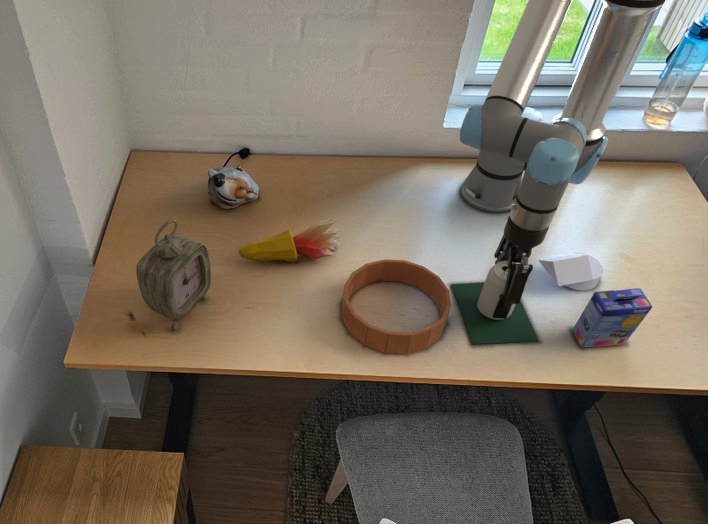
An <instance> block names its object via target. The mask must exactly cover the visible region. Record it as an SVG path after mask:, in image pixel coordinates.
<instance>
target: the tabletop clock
mask: <svg viewBox="0 0 708 524" xmlns="http://www.w3.org/2000/svg"><path fill="white" fill-rule="evenodd" d="M173 223H174V228H173V230H172V231H171V232H170V234H169V233H168V234H165V235H164V237H162V238H161V239H160V240H159V237H160V235H161V233H162V232H163V231H164V229H165V228H167V227H168V226H169V225H170V224H173ZM177 229H178V222H177V220H176V219H168V220H167V221H165V222H164V223H163V224H162V225H161V226H160V227H159V228H158V230H157V231H156V234H155V237H154V245H153V246H152V247H150V249H149V250H147V252H146V253H145V254H144V255H143V256H142V257H141V258H140V259H139V260H138V262H137V264H136V267H135V268H136V270H135V273H136V279H137V284H138V289H139V291H140V294H141V298H142V299H143V301H144V302H145V304H146V306H147V308H149V309H150V310H151V311H153V312H156V313H157V314H160V315H162V316H164V317H166V318H168V319H169V320H171V321H172V324H171V327H170V329H171V330H172V331H173V332H175V331H178V330H179V325H178V323H177V322H179V321H181V320H183V319H184V318H185V317H186V316H188V314H189V313H190V312H191V311H192V310H193V309H194V308H195V307H196V306H197V305H198V304H199V302H200V301H205V300H207V295H206V294H207V292H208V291H209V289H210V287H211V281H212V279H211V278H212V271H211V261H210V257H209V251H208V248H207V247H206V245H205V244H202V243H200V242H198V241H196V240H192V239H190V238H188V237H185V236H183V235H180V234H178V233H177ZM158 240H159V241H158Z"/></svg>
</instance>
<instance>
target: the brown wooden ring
mask: <svg viewBox="0 0 708 524" xmlns="http://www.w3.org/2000/svg"><path fill="white" fill-rule="evenodd" d="M381 281H386V282H387V281H389V282H401V283H404V284H407V285H411V286H413V287H417V288H418V289H420V290H421V291H422V292H423V293H425V294H426V295H428V296H429V297H431V299H432V300H433V302H434V303H435V304H436V306H437V307H438V308H439V312H440V313H439V314H440V319H438V320H437V321H436V322H434V323H433V324H431V325H430V326H429V327H426V328H423V329H419V330H415V331H411V332H403V331H389V330H386V329H383V328H380V327H377V326H375V325H372V324H370V323H368V322H367V321H366V320H364V319H363V318H362V317H361V316H359V314H357V313H356V312H355V310H354V308H353V307H352V305H351V303H350V301H349V300H350V298H351V296H352V295H353V293H355V292H356V291H358V290H359V289H361V288H362V287H364V286H365V285H369V284H373V283H377V282H381ZM342 292H343V294H342V300H341V301H342V302H341V319H342V322H343V323H344V325H345V327H346V328H347V330H348V333H349V334H350V336H352V337H353V338H355V339H356V340H358V341H359V342H360V343H362V345H363V346H366V347H369V348H371V349H374V350H376V351H379V352H382V353H384V354H402V355H403V354H404V355H406V354H411V353H415V352H418V351H421V350H425V349H427V348H428V347H430V346H432V345H433V344H434V343H435V342H437V340H439V339H440V338H441V335H442V333H443V331H444V329H445V327H446V324H447V321H448V318H449V314H450V311H451V308H452V300H451V299H452V298H451V293H450V289H449V288H448V286H447V285H446V284H445V283H444V281H443V280H442V278H441V277H440V276H439V275H438V274H436V273H435V272H433V271H432V270H430V269H429V268H427V267H426V266H423V265H421V264H419V263H414V262H411V261H408V260H404V259H387V258H385V259H380V260H376V261H372V262H367V263H364V264H363V265H362V266H360V267H358V268H357V269H356V270H354V271H352V273H350V275H349V277H348V279H347V280H346V282H345V283H344V286H343V291H342Z"/></svg>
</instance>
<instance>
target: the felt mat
mask: <svg viewBox="0 0 708 524" xmlns="http://www.w3.org/2000/svg"><path fill="white" fill-rule="evenodd" d="M484 283H485V281H484V282H483V281H481V282H466V283H465V282H464V283H451V285H450V286H451V288H452V292H453V295H454V296H455V301H456V303H457V306H458V308H459V311H460V314H461V316H462V320H463V322H464V325H465V329H466V330H467V333H468V337H469V339H470V341H471V344H472V346H480V345H497V344H515V343H516V344H517V343H534V342H535V343H537V342H539V338H538V336H537V334H536V332H535V329H534V327H533V325H532V323H531V320H530V318H529V316H528V314H527V311H526V310H525V307H524V305H523V302H522V299H521V300H520V302H519V304H515V307H514V309H513V311H512V314H511V315H510V316H509V317H507V318H506V319H500V320H496V319H491V318H488V317H486V316H484V315H483V314H482V313H481V312H480V311H479V309H478V307H477V303H478V300H479V297H480V294H481V292H482V289H483V286H484Z"/></svg>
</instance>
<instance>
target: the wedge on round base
mask: <svg viewBox="0 0 708 524" xmlns="http://www.w3.org/2000/svg"><path fill="white" fill-rule="evenodd" d="M537 261H538V262H539V263H540V265H541V266H542V267H543V268H544V270H545V271H546V272H547V274H548V275H549V276H550V278H552V280H553V281H554V283H555V284H556V285H557V286H558V287H562V286H565V287H567V288H569V289H571V290H574V291H589V290H591V289H594V288H595V287H596V286H597V284H598V283H599V280H600V279H601V277H602V275H603V273H604V267H603V265H602V263H601V262H600V261H599V260H598V259H597V258H595V257H593V256H591V255H590V254H586V253H582V252H570V253H565V254H559V255H555V256H548V257H543V258H539V259H537Z"/></svg>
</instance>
